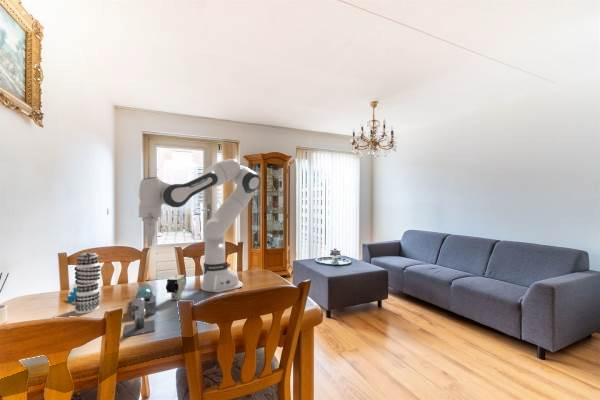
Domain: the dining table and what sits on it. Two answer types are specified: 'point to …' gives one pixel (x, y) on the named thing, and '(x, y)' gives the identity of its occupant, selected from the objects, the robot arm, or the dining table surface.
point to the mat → (131, 331)
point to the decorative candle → (87, 282)
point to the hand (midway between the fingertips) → (149, 244)
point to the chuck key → (139, 312)
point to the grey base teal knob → (146, 293)
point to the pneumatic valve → (176, 286)
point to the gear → (72, 295)
